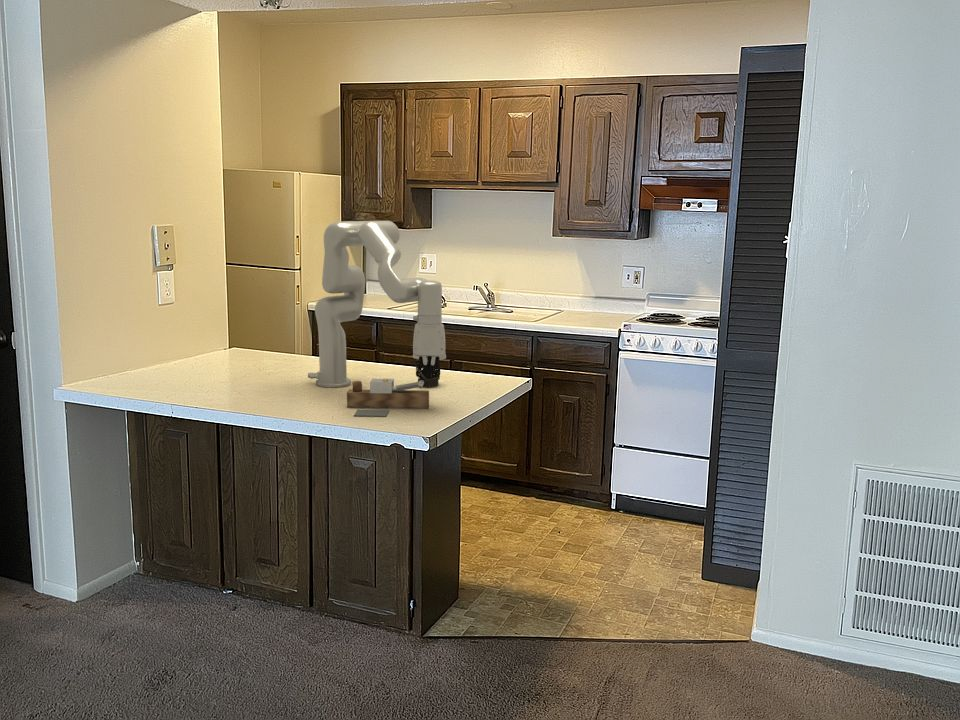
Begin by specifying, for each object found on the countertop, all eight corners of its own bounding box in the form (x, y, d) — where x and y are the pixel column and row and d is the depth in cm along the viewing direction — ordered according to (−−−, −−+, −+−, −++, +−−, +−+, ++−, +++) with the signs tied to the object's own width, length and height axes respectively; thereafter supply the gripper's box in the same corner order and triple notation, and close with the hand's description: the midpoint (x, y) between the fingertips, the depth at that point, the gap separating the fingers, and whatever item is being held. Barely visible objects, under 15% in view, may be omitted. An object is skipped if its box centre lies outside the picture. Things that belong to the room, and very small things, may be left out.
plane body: (347, 407, 273) (346, 383, 272) (349, 404, 277) (349, 380, 276) (428, 408, 272) (427, 384, 271) (429, 405, 277) (429, 381, 275)
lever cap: (370, 393, 272) (369, 381, 271) (372, 389, 277) (372, 377, 276) (391, 393, 271) (391, 381, 271) (393, 389, 276) (393, 378, 276)
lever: (392, 388, 271) (422, 382, 271) (394, 384, 276) (423, 379, 275) (393, 392, 272) (423, 387, 271) (395, 389, 276) (424, 384, 276)
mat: (353, 416, 262) (353, 415, 262) (357, 410, 269) (357, 409, 269) (386, 417, 262) (386, 415, 262) (389, 411, 269) (389, 410, 269)
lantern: (436, 389, 300) (436, 310, 295) (411, 387, 302) (411, 309, 296) (443, 383, 309) (443, 306, 304) (419, 381, 311) (418, 305, 306)
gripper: (404, 321, 266) (404, 378, 269) (452, 322, 265) (451, 379, 269) (407, 317, 273) (407, 373, 277) (453, 318, 273) (453, 374, 276)
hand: (429, 376), depth 273 cm, fingers closed
